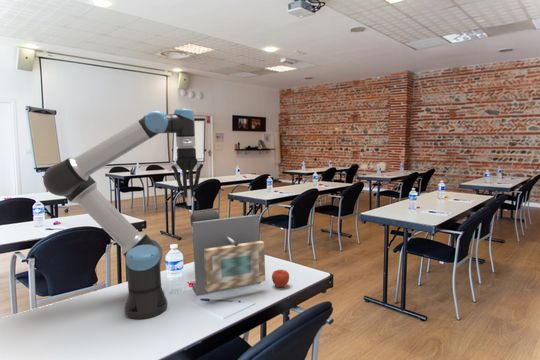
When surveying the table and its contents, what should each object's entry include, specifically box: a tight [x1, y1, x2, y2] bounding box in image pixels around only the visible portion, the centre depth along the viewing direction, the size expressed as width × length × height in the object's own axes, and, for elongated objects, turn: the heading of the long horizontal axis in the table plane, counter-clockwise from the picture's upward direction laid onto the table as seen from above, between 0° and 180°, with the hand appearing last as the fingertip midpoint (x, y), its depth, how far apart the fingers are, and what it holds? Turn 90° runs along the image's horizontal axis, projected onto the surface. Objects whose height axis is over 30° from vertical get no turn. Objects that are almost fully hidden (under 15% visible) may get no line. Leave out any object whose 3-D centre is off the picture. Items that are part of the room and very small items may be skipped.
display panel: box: [191, 214, 261, 296], centre depth 153 cm, size 28×15×30 cm, turn 114°
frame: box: [204, 240, 266, 292], centre depth 144 cm, size 24×4×18 cm, turn 114°
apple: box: [271, 269, 290, 288], centre depth 155 cm, size 7×7×8 cm
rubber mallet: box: [189, 210, 220, 227], centre depth 171 cm, size 12×8×30 cm, turn 120°
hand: (189, 205), depth 150 cm, fingers closed
